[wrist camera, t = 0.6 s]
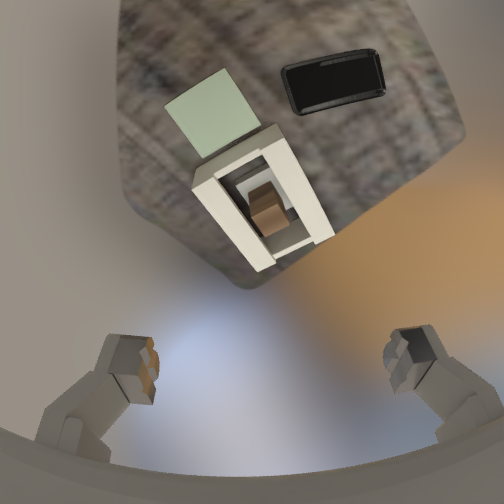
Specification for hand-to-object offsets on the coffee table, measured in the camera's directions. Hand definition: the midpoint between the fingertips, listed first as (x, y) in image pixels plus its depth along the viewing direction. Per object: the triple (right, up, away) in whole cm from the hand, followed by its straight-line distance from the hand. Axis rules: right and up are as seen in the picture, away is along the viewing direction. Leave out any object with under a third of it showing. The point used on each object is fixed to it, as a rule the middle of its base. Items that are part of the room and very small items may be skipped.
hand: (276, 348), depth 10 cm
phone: (+11, +28, +28) cm, 42 cm away
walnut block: (+1, +12, +38) cm, 40 cm away
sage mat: (-6, +23, +30) cm, 39 cm away
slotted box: (+1, +13, +39) cm, 41 cm away
